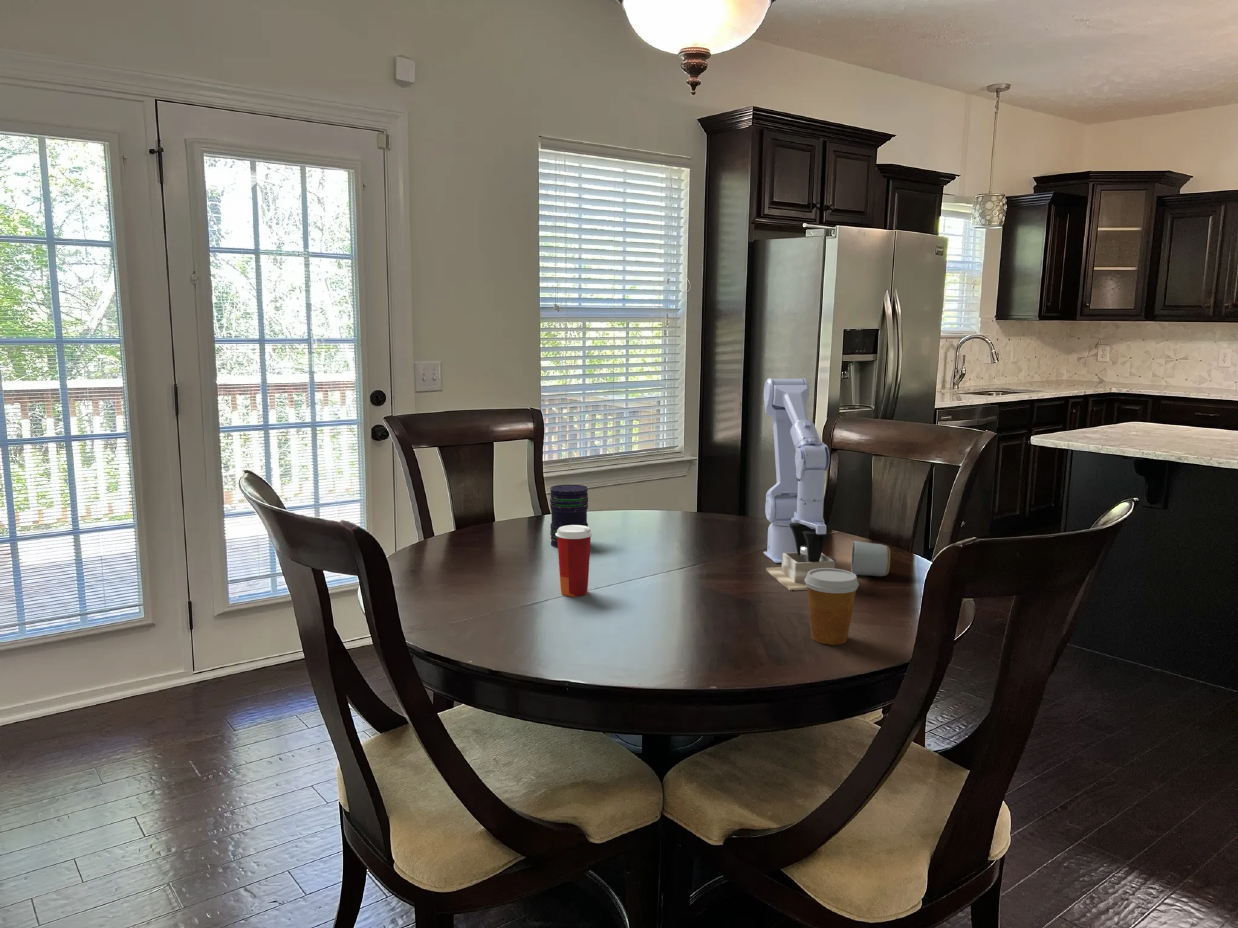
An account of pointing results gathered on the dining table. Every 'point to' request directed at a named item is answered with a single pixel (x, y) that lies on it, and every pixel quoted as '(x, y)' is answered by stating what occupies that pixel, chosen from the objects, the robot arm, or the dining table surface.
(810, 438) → the robot arm
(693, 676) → the dining table surface
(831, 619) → the disposable coffee cup
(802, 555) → the plunger
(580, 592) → the paper cup
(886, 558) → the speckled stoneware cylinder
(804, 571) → the base
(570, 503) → the storage jar
